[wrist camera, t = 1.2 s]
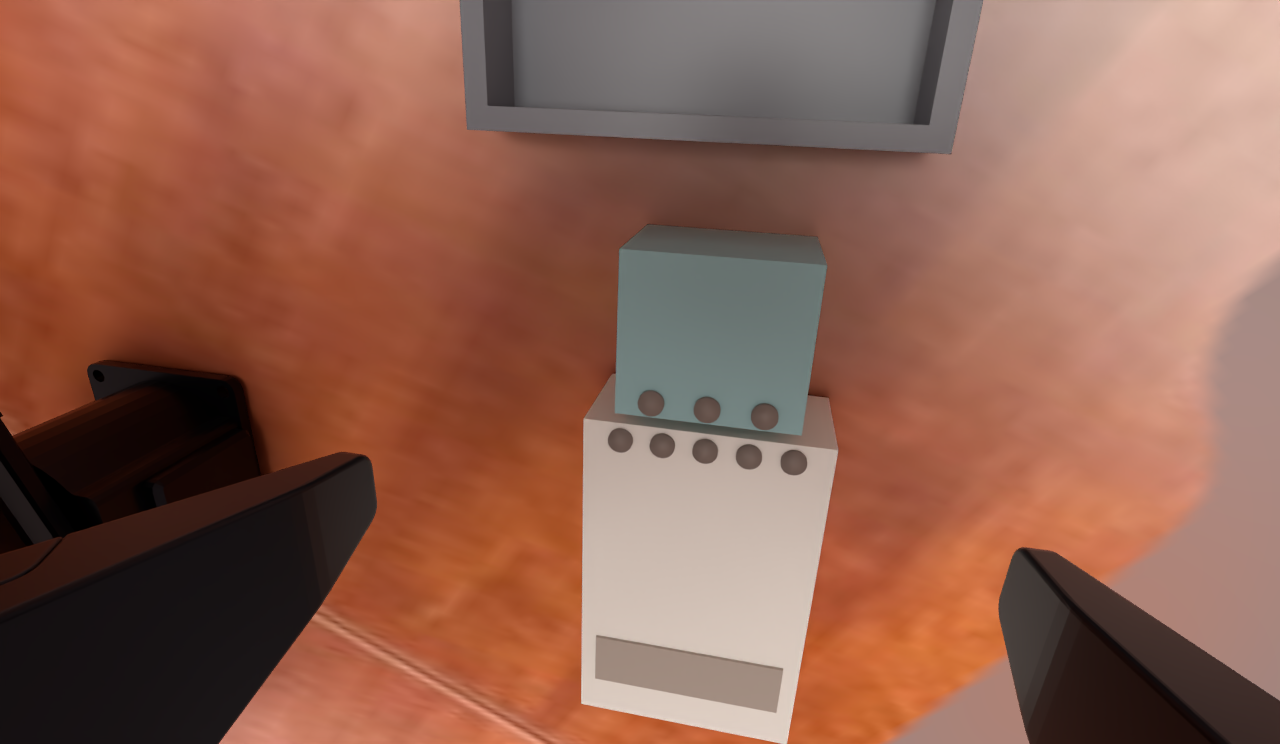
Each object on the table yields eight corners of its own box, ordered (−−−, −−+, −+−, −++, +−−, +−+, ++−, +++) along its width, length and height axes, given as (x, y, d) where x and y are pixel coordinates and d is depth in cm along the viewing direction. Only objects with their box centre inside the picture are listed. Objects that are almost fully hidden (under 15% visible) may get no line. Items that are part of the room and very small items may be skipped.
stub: (642, 361, 21) (613, 415, 18) (648, 223, 20) (617, 249, 16) (796, 378, 21) (802, 438, 17) (817, 235, 19) (827, 266, 15)
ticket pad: (605, 630, 26) (580, 707, 22) (612, 373, 22) (582, 420, 18) (785, 662, 25) (787, 748, 21) (828, 397, 20) (838, 452, 17)
